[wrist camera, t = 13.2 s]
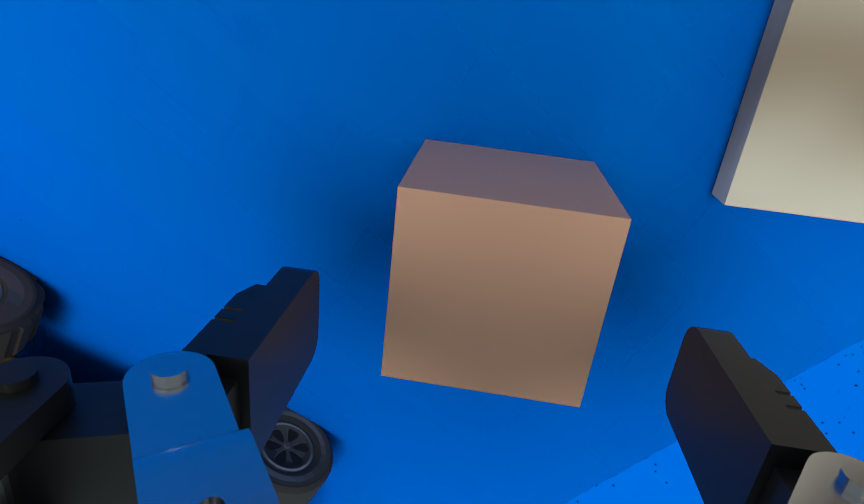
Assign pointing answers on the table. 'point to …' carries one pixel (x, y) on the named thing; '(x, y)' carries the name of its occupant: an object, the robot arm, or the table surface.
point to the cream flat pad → (802, 116)
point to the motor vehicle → (284, 450)
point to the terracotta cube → (501, 271)
